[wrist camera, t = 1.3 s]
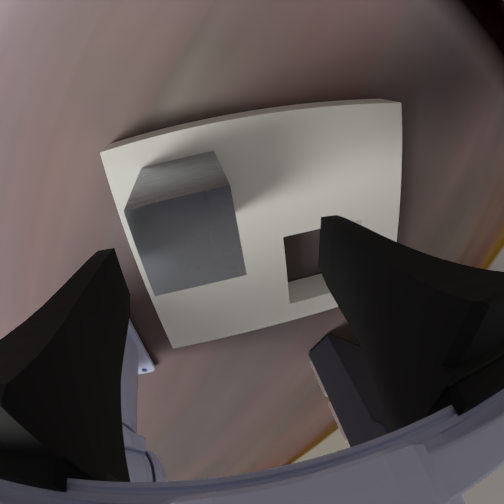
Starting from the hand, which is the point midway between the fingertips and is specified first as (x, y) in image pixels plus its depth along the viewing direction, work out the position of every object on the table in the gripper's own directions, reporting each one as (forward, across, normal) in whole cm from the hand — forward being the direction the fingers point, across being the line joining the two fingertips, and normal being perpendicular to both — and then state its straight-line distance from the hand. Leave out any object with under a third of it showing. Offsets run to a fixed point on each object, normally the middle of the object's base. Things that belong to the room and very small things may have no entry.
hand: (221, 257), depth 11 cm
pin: (+8, +1, 0) cm, 8 cm away
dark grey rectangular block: (+10, -12, +22) cm, 27 cm away
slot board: (+10, -4, +4) cm, 12 cm away
